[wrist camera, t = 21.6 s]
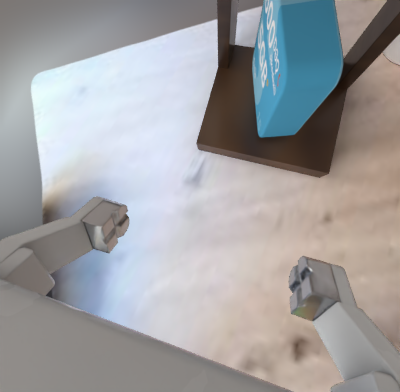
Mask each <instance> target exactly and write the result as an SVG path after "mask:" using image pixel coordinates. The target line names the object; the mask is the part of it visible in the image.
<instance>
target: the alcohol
mask: <svg viewBox="0 0 400 392" xmlns="http://www.w3.org/2000/svg"><path fill="white" fill-rule="evenodd" d="M383 54H384V55H385V57H386V58H387V59H389V60H390V61H391V62H393V63H395V64H397V65H400V34H399V35H398V36H397V37H396V38H395V39H394V40H393V41H392V43H391V44H390V45H389V46H388V47H387V48H386V49H385V50H384V51H383Z"/></svg>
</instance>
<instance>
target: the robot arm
mask: <svg viewBox="0 0 400 392" xmlns="http://www.w3.org/2000/svg"><path fill="white" fill-rule="evenodd" d="M127 211H128V209H127V206H126V205H124V204H121V203H118V202H115V201H111V200H108V199H105V198H101V197H98V196H96V197H93V198H92V199H91V200H90V201H89V202H88V203H86V204H85V205H84V206H83V207H82V208H81V209H79V210H78V211H77V212H76V213H75V214H74V215H72V216H71V217H70V218H69V217H65V218H62V219H59V220H56V221H54V222H51V223H48V224H45V225H42V226H39V227H36V228H33V229H30V230H27V231H24V232H21V233H18V234H15V235H12V236H10V237H7V238H4V239H2V240H1V241H0V392H293V391H290V390H288V389H285V388H282V387H280V386H277V385H275V384H272V383H270V382H267V381H264V380H262V379H259V378H257V377H254V376H251V375H249V374H246V373H244V372H241V371H239V370H236V369H233V368H231V367H228V366H226V365H223V364H220V363H218V362H215V361H213V360H210V359H207V358H205V357H202V356H200V355H197V354H195V353H192V352H189V351H187V350H184V349H182V348H179V347H176V346H174V345H171V344H169V343H166V342H163V341H161V340H158V339H156V338H153V337H151V336H148V335H145V334H143V333H140V332H138V331H135V330H132V329H130V328H127V327H125V326H122V325H119V324H117V323H114V322H112V321H109V320H107V319H104V318H101V317H99V316H96V315H94V314H91V313H88V312H86V311H83V310H81V309H78V308H76V307H73V306H70V305H68V304H65V303H63V302H60V301H57V300H55V299H52V298H50V297H47V296H45V295H46V294H47V293H48V292H49V291H50V290H51V289H52V287H53V286H54V285H55V281H54V280H53V278H52V277H51V276H50V274H51V273H53V272H54V271H56V270H58V269H60V268H61V267H63V266H65V265H67V264H68V263H70V262H72V261H74V260H75V259H77V258H79V257H81V256H83V255H84V254H86V253H88V252H90V251H91V250H93V249H96V250H100V251H103V252H106V253H110V252H111V251H112V249H113V248H114V247H115V245H116V244H117V243H118V238H119V237H121V236H123V235H124V234H125V232H126V231H127V229H128V226H129V217H128V216H127V214H126V212H127ZM289 288H290V290H291V291H292V293H293V294H292V296H291V297H290V306H291V314H293V315H296V316H299V317H302V318H304V319H307V320H310V321H313V322H312V323H313V325H314V327H315V328H316V330H317V332H318V334H319V336H320V337H321V339H322V341H323V343H324V345H325V346H326V348H327V350H328V352H329V354H330V355H331V357H332V359H333V361H334V363H335V364H336V366H337V368H338V370H339V372H340V373H341V375H342V377H343V379H344V382H341V383H339V384H336V385H334V386H332V387H331V392H400V353H399V351H398V350H397V349H396V348H395V347H394V346H393V345H392V343H391V342H390V341H389V340H388V339H387V338H386V337H385V335H384V334H383V333H382V332H381V331H380V330H379V328H378V327H377V326H376V325H375V324H374V323H373V322H372V320H371V319H370V318H369V317H368V316H367V315H366V314H365V312H364V311H363V310H362V309H360V308H357V305H356V302H355V299H354V296H353V293H352V290H351V287H350V284H349V281H348V278H347V275H346V272H345V270H344V268H343V267H341V266H337V265H334V264H330V263H327V262H323V261H320V260H316V259H313V258H309V257H305V256H302V257H300V259H299V260H298V265H297V266H294V267H293V268H292V270H291V272H290V276H289Z"/></svg>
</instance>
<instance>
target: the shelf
mask: <svg viewBox="0 0 400 392" xmlns="http://www.w3.org/2000/svg"><path fill="white" fill-rule="evenodd" d="M237 12H238V0H217V14H218V70H217V73H216V77H215V80H214V84H213V87H212V91H211V94H210V98H209V101H208V105H207V108H206V112H205V115H204V119H203V122H202V126H201V129H200V133H199V136H198V140H197V146H198V149H199V150H203V151H207V152H212V153H216V154H220V155H225V156H229V157H233V158H238V159H242V160H246V161H250V162H255V163H259V164H263V165H268V166H272V167H276V168H281V169H285V170H289V171H294V172H298V173H302V174H306V175H311V176H315V177H319V178H320V177H322V176H324V175H326V174H329V171H330V166H331V161H332V157H333V152H334V147H335V143H336V138H337V133H338V129H339V124H340V120H341V115H342V110H343V106H344V101H345V96H346V92H347V89H348V88H349V87H350V86H351V85H352V84H353V82H354V81H355V80H356V79H357V78H358V77H359V76H360V75H361V74H362V73H363V72H364V71H365V70H366V69H367V68H368V67H369V66H370V65H371V64H372V63H373V61H374V60H375V59H376V58H377V57H378V56H379V55H380V54H381V53H382V52H383V51H384V50H385V49H386V48H387V47H388V46H389V45H390V44H391V43H392V41H393V40H394V39H395V38H396V37H397V36H398V35H399V34H400V0H387V2H386V3H385V4H384V6H383V7H382V8H381V10H380V11H379V12H378V14H377V15H376V16H375V18H374V19H373V20H372V22H371V23H370V24H369V26H368V27H367V28H366V30H365V31H364V32H363V34H362V35H361V36H360V38H359V39H358V40H357V42H356V43H355V44H354V46H353V47H352V48H351V50H350V51H349V52H348V54H347V55H346V56H345V58H344V59H343V70H342V74H341V77H340V79H339V82H338V84H337V85H336V87H335V88H334V89H333V90H332V92H331V93H330V94H329V95H328V96H327V97H326V99H325V100H324V101H323V102H322V103H321V105H320V106H319V107H318V108H317V109H316V110H315V112H314V113H313V114H312V115H311V116H310V118H309V119H308V120H307V121H306V122H305V123H304V125H303V126H302V127H301V128H300V129H299V130H298V132H297V133H296V134H295V135H287V136H275V137H263V138H261V137H259V135H258V129H257V118H256V106H255V95H254V84H253V72H252V62H253V54H254V49H255V48H252V47H245V46H239V45H235V37H236V25H237Z"/></svg>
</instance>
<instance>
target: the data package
mask: <svg viewBox="0 0 400 392" xmlns="http://www.w3.org/2000/svg"><path fill="white" fill-rule="evenodd" d="M342 70H343V52H342V45H341V39H340V33H339V26H338V20H337V13H336V7H335V0H264V2H263V8H262V13H261V18H260V23H259V28H258V33H257V38H256V44H255V49H254V54H253V62H252V72H253V84H254V95H255V106H256V118H257V129H258V135H259V137H261V138H263V137H275V136H287V135H295V134H296V133H297V132H298V130H299V129H300V128H301V127H302V126H303V125H304V123H305V122H306V121H307V120H308V119H309V118H310V116H311V115H312V114H313V113H314V112H315V110H316V109H317V108H318V107H319V106H320V105H321V103H322V102H323V101H324V100H325V99H326V97H327V96H328V95H329V94H330V93H331V92H332V90H333V89H334V88H335V87H336V85H337V84H338V82H339V79H340V77H341V74H342Z"/></svg>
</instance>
